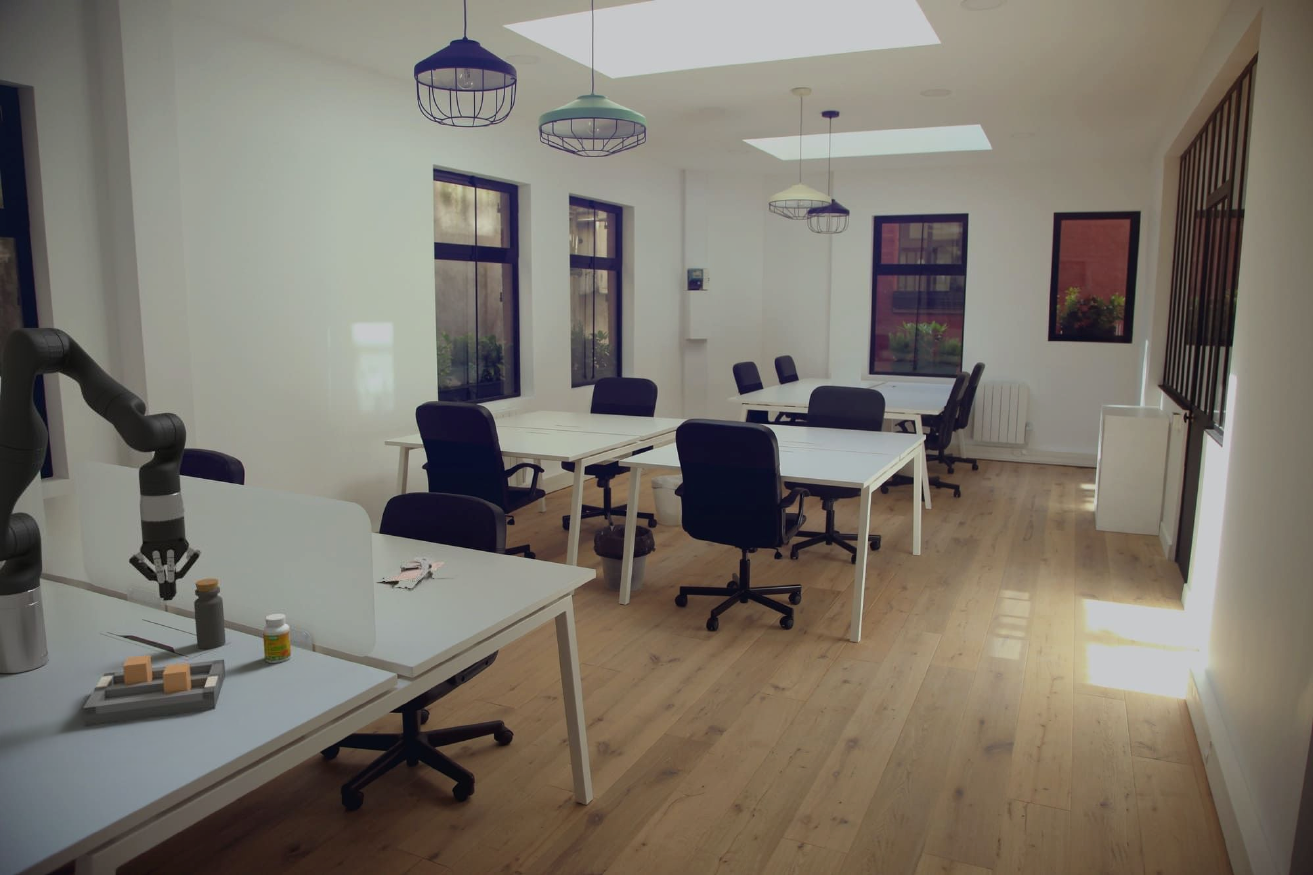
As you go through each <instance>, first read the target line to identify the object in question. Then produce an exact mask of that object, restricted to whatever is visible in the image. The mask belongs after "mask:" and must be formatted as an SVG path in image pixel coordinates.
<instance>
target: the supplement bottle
mask: <svg viewBox="0 0 1313 875" xmlns="http://www.w3.org/2000/svg"><path fill="white" fill-rule="evenodd" d="M286 621H287V620H286V615H285V614H283V613H274V614H269V615H267V616H266V617H265V625H266V626H265V627H264V628H263V629H262V636H263V637H262V638H263V649H264V650H263V653H264V660H265V662H266V663H269V664H279V663H284V662H286V661H288V660H290V659H291V657H292V649H291V634H290V633H291V631H290V629H291V628H290V625H289V624H287V623H286Z"/></svg>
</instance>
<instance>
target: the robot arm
mask: <svg viewBox="0 0 1313 875" xmlns="http://www.w3.org/2000/svg"><path fill="white" fill-rule="evenodd" d="M0 370H1V371H0V563H1V562H4V564H3V565H2V566H1V567H0V674H1V673H2V674H15V673H16V674H17V673H23V672H28V671H31V670H35V669H38V668H40V667H42V666H44V665H45V664H47V663H48V661H49V652H48V644H47V634H46V625H45V617H44V616H45V615H44V607H43V606H44V605H43V598H42V597H43V596H42V589H41V588H42V587H41V576H42V574H43V573H42V572H43V553H42V550H43V549H42V548H43V546H42V537H41V530H40V527H39V525H38V523H37V521H36V519H35V518H34V517H33V516H32V515H30V514H29V513H26V512H20V511H19V512H13V511H14V508H15V506H16V505H17V502H18V500H19V499H20V497H21V496H22V495H23V493H24V492H25V491H26V490H27V488H29V487H30V485H31V484H32V482H33V481H34V480H35V479H36V477H37V476H38V474H39V473H40V471H41V470H42V467H43V465H44V462H45V459H46V454H47V449H48V442H49V432H48V429H47V426H46V425H45V422H44V420H43V418H42V416H41V414H40V413H39V412H38V409H37V407H36V405H35V401H34V385H35V380H36V377H37V375H48V374H56V373H57V374H58V373H59V374H62V375H64V376H66V377H68V378H70V379H72V380H74V381H75V382H76V383H77V384H78V385H79V387H80V392H81V395H82V396H81V397H82V398H83V400H84V402H85V404H86V405H87V406H88V407H89V408H90V409H91V410H92V411H94V412H95V413H96V414H98V416H100V417H102V418H103V419H104V420H106V421H107V422H108V423H110V424H111V425H112V426H113V427H114V429H115V430H116V431H117V433H118V434H119V436H120V437H121V438H122V440H123V441H124V442H125V444H126V445H127V446H128V447H129V448H131V449H132V450H135V451H136V452H140V453H153V452H154V454H153V457H152V459H150V461H148V462H146V463H144V464H143V465H141V466H140V468H139V470H138V480H139V482H138V483H139V484H138V486H139V494H140V497H139V512H140V513H139V514H140V526H141V527H140V528H141V529H140V530H141V539H142V540H141V541H142V542H141V543H142V544H141V545H140V546H139V547H140V548H139V551H138V552H137V553H136V554H132V555H131V557H130V558H129V560H128V562H129V564H130V565H132V567H134V569H136V570H137V571H138V572H139V573H140V574H141V575H143V577H144V578H146V580H148V581H150V582H151V581H152V582H153V581H154V582H156V583H158V592H159V597H160V599H163V601H164V602H165V601H166V602H167V601H172V600H173V599H174V598H175V597H176V594H177V580H179V579H180V580H181V579H183V578H184V577H185V576H186V575H187V574H188V572H189V571H190V569H191V568H192V566H193V565H194V564H195V563H196V562H197V560H198V559H200V556H201V554H202V552H201V550H199V549H198V550H197V549H196V550H195V549H193V547H191V546H190V544H189V541H188V540H187V538H186V523H185V507H184V500H183V495H182V491H181V490H182V488H181V487H182V486H181V476H180V469H181V465H182V461H183V456H184V453H185V447H186V443H187V431H186V426H185V424H184V421H183V420H182V418H180V416H178V415H177V414H175V413H172V412H161V413H155V414H148V415H145V414H146V412H147V406H146V403H145V402H144V400H143V399H141V398H140V396H139V395H137V394H135V393H134V392H132V391H131V390H130V389H129V388H126V387H125V386H124V385H123V384H121V383H120V382H118V381H117V380H116V379H114V378H113V377H112V376H110V375H109V374H108V373H107V372H106V371H105V370H104V369H103V368H102V367H101V366H100V365H99V364H98V363H97V362H96V361H95V360H94V358H92V357H91V356H90V354H88V353H87V352H86V351H85V350H84V349H83V348H82V346H81V345H80V344H79V343H78V342H77V341H76V340H75V339H73V337H72V336H71V335H69V334H68V333H67V332H65V331H64V330H62V329H60V328H55V327H32V328H31V327H23V328H22V327H21V328H16V329H12V330H11V331H10V332H8V334H7V336H6V337H5V339H4V343H3V347H2V354H1V367H0ZM185 554H186V556H185V559H186V560H187V561H186V562H185V563H184V565H183V566H182V567H181V568H180V570H178V571H177V567H178V563H180V561H181V559H182V558H183V557H184V555H185ZM146 559H147V560H148V562H150V563H151V565H153V566H154V569H153V568H152V567H151V566H149V564H147V563H146V562H145V560H146Z"/></svg>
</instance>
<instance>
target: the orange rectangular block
mask: <svg viewBox="0 0 1313 875" xmlns="http://www.w3.org/2000/svg"><path fill="white" fill-rule="evenodd" d="M151 658H152V657H151V654H149V655H146V654H145V655H140V656H139V655H138V656H129V657H127V659H126V661H125V662H124V664H123V665H122V667H123V670H122V671H124V681H125V685H126V684H134V683H143V682H151V680H152V668H153V667H152V659H151Z"/></svg>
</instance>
